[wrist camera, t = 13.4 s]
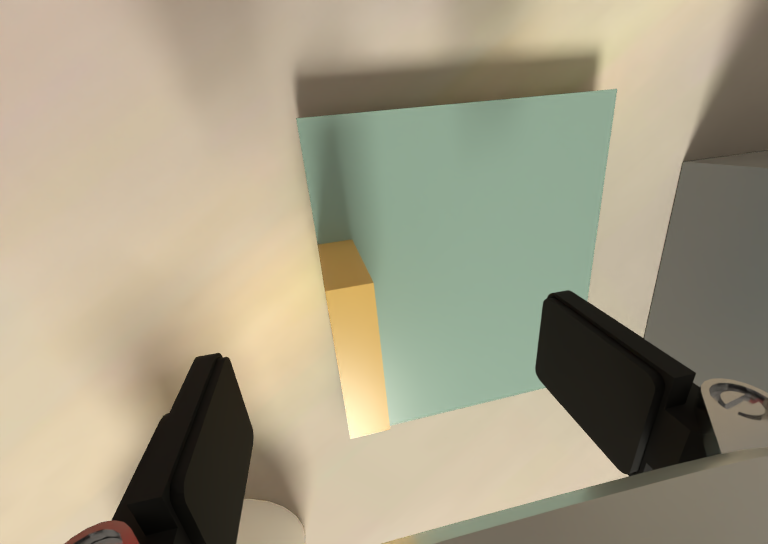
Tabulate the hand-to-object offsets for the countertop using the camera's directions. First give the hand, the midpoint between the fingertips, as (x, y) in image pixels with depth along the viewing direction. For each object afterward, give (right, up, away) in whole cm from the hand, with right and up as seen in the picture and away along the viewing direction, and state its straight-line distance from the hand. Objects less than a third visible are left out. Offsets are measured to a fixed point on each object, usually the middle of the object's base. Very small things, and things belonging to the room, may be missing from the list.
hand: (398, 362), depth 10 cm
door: (+3, +3, +9) cm, 10 cm away
